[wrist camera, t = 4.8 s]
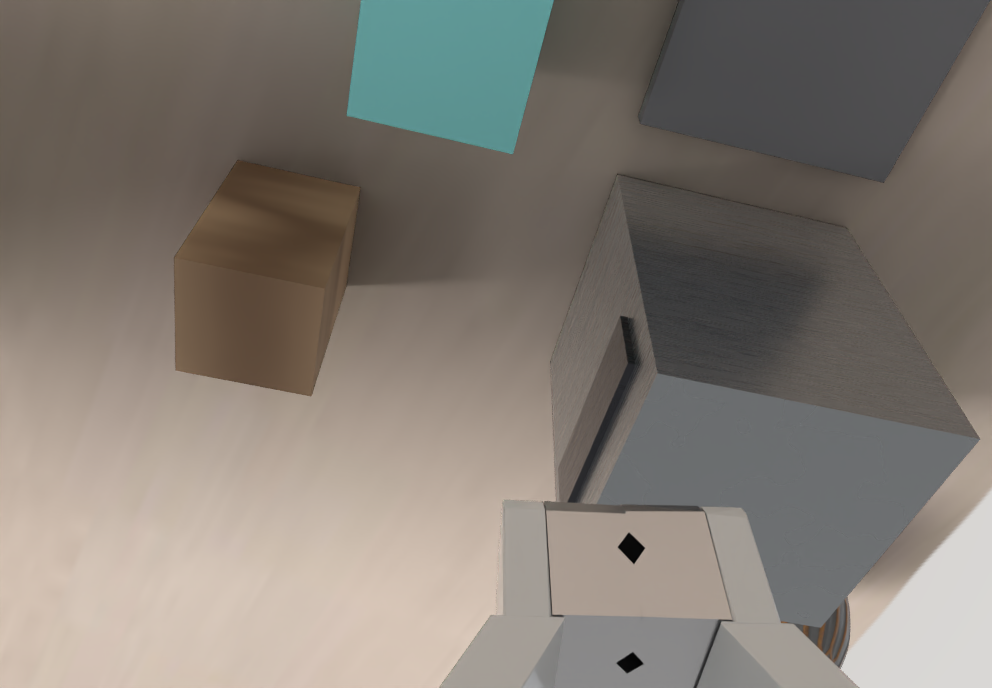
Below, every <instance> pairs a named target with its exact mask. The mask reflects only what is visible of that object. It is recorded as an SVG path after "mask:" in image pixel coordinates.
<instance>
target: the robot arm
mask: <svg viewBox="0 0 992 688" xmlns="http://www.w3.org/2000/svg"><path fill="white" fill-rule="evenodd" d="M439 688H859V687H858V686H857V685H856V684H855V683H854V682H853V681H852V680H851V679H850V678H849V677H848V676H846V675H845V673H844V672H842V671H841V670H840V669H839V668H838V667H837V666H836V665H835V664H834V663H833V662H832V661H831V660H830V659H829V658H828V657H827V656H826V655H825V654H824V653H823V652H822V651H821V650H820V649H819V648H818V647H817V646H816V645H815V644H814V643H813V642H812V641H811V640H810V639H809V638H808V637H807V636H806V635H804V634H803V633H802V632H801V631H800V630H799V629H798V628H797V627H796V626H795V625H794V624H790V623H781V621H780V618H779V615H778V612H777V609H776V605H775V602H774V599H773V596H772V593H771V590H770V586H769V583H768V580H767V577H766V574H765V571H764V567H763V564H762V561H761V558H760V555H759V552H758V548H757V545H756V542H755V539H754V536H753V533H752V529H751V526H750V523H749V520H748V517H747V514H746V513H745V512H744V511H743V509H742V508H735V507H698V506H684V505H631V504H621V505H602V504H585V503H567V502H550V501H544V503H543V501H523V500H503V503H502V512H501V525H500V539H499V552H498V571H497V590H496V615H491V616H490V617H489V618H488V620H487V621H486V623H485V624H484V625H483V627H482V628H481V630H480V631H479V632H478V634H477V635H476V637H475V638H474V639H473V641H472V642H471V644H470V645H469V646H468V648H467V649H466V651H465V652H464V653H463V655H462V656H461V658H460V659H459V660H458V662H457V663H456V665H455V666H454V667H453V669H452V670H451V672H450V673H449V674H448V676H447V677H446V679H445V680H444V681H443V683H442V684H441V686H440V687H439Z"/></svg>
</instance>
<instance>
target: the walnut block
mask: <svg viewBox="0 0 992 688" xmlns="http://www.w3.org/2000/svg"><path fill="white" fill-rule="evenodd" d="M360 188H361V187H357V186H352V185H348V184H343V183H339V182H334V181H330V180H325V179H321V178H316V177H312V176H307V175H303V174H298V173H294V172H289V171H285V170H280V169H276V168H271V167H267V166H262V165H258V164H253V163H249V162H244V161H240V160H237V162H236V164H235V165H234V167H233V168H232V170H231V171H230V173H229V174H228V176H227V177H226V179H225V180H224V182H223V183H222V185H221V186H220V188H219V190H218V191H217V193H216V194H215V196H214V197H213V199H212V200H211V202H210V203H209V205H208V206H207V208H206V209H205V211H204V212H203V214H202V216H201V217H200V219H199V220H198V222H197V223H196V225H195V226H194V228H193V229H192V231H191V232H190V234H189V235H188V237H187V239H186V240H185V242H184V243H183V245H182V246H181V248H180V249H179V251H178V252H177V254H176V255H175V257H174V292H175V368H176V371H181V372H187V373H192V374H197V375H202V376H208V377H213V378H218V379H223V380H229V381H234V382H239V383H244V384H250V385H255V386H260V387H265V388H271V389H276V390H281V391H286V392H292V393H297V394H302V395H307V396H312V393H313V390H314V386H315V383H316V380H317V377H318V374H319V371H320V368H321V364H322V361H323V358H324V355H325V352H326V349H327V345H328V342H329V339H330V336H331V333H332V330H333V326H334V323H335V320H336V317H337V314H338V311H339V307H340V304H341V301H342V298H343V295H344V292H345V289H346V285H347V278H348V271H349V264H350V257H351V250H352V243H353V237H354V230H355V223H356V216H357V209H358V202H359V195H360Z"/></svg>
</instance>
